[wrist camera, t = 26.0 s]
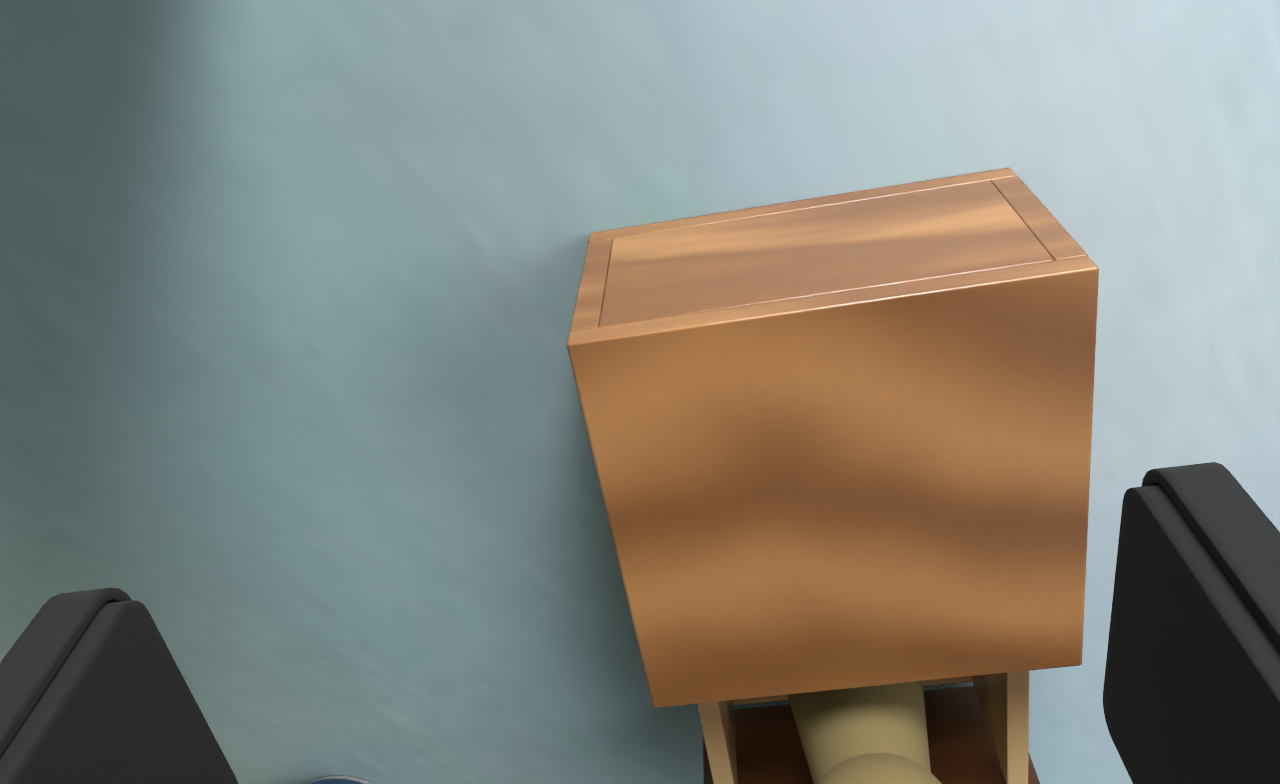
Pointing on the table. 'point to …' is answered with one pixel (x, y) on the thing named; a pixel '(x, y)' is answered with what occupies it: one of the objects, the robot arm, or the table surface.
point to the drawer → (956, 728)
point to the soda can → (339, 780)
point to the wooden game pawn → (865, 734)
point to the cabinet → (844, 437)
